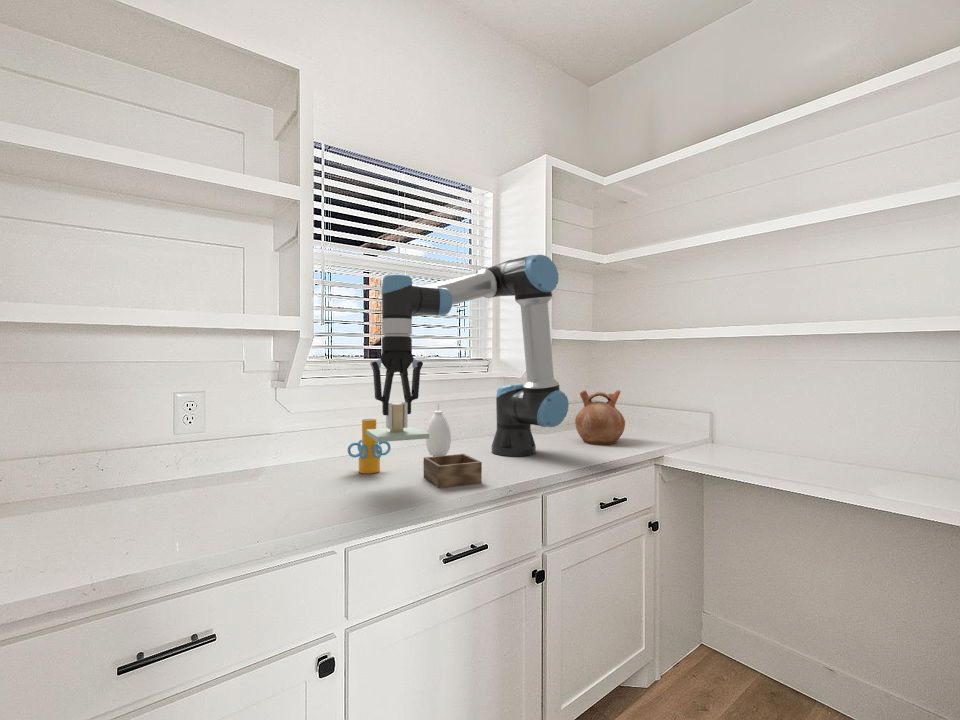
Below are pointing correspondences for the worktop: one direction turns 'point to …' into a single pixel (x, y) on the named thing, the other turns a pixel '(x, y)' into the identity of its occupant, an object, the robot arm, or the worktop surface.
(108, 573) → the worktop surface
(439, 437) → the sauce bottle
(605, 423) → the jug
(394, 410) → the lid
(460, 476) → the box
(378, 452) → the cylinder
